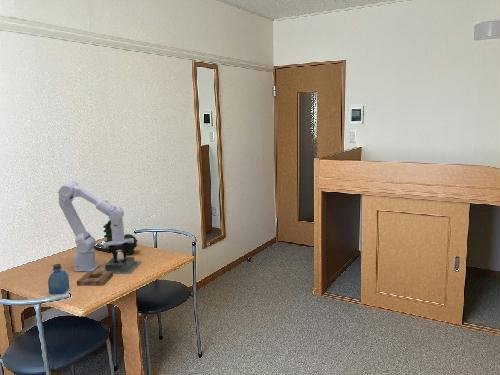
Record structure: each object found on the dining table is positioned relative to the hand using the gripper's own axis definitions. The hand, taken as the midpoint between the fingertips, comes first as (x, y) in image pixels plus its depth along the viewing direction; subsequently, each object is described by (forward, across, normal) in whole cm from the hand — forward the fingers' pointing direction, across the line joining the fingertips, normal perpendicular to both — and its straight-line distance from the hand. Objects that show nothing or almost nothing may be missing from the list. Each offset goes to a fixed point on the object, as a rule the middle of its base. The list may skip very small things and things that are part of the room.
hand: (119, 258), depth 207 cm
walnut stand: (+5, -14, -10) cm, 18 cm away
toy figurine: (+5, +7, +24) cm, 26 cm away
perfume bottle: (+5, -30, -14) cm, 33 cm away
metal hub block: (+5, 0, 0) cm, 5 cm away
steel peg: (+3, 0, 0) cm, 3 cm away
